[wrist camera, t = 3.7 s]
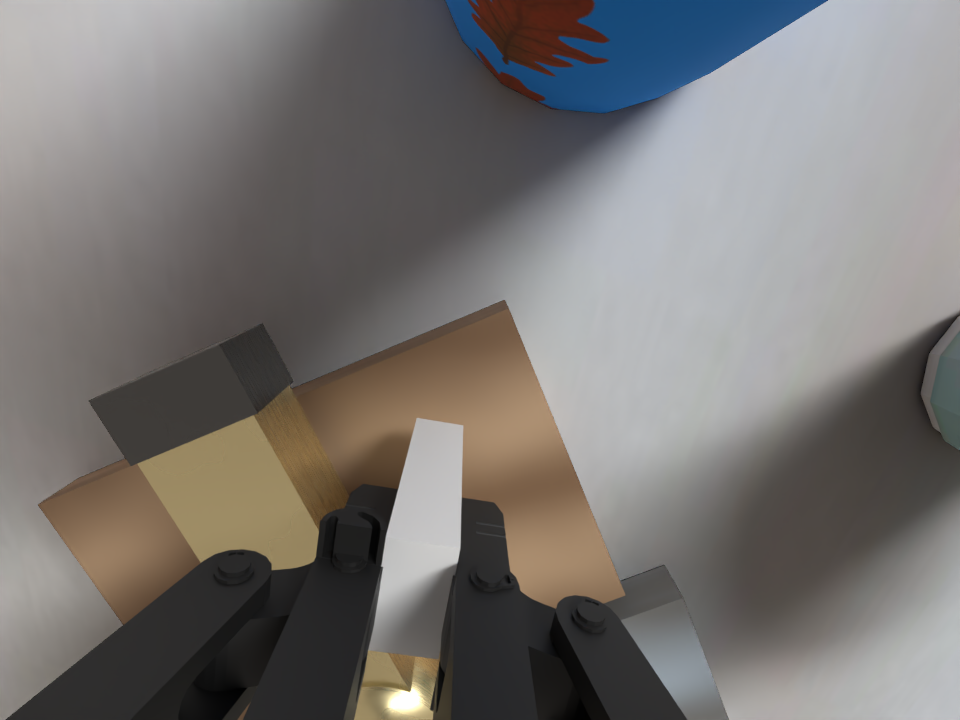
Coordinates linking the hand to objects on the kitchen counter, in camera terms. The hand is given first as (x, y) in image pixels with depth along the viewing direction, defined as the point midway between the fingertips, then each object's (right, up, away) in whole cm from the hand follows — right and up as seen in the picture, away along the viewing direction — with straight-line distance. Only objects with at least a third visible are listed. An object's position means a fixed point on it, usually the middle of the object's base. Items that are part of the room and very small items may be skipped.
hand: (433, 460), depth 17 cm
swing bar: (-4, -3, +1) cm, 5 cm away
